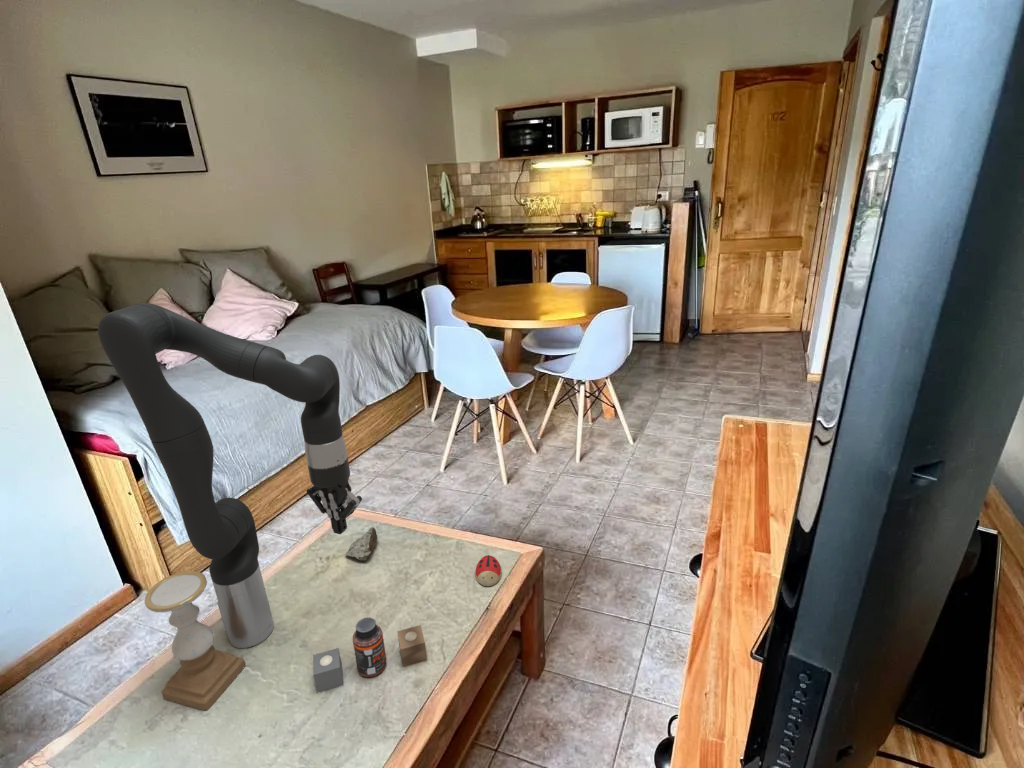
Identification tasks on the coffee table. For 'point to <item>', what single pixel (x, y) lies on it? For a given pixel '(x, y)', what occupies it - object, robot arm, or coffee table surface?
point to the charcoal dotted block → (327, 670)
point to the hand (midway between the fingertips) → (340, 531)
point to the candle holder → (192, 644)
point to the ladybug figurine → (488, 571)
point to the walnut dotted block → (412, 645)
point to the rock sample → (363, 545)
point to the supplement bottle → (369, 647)
